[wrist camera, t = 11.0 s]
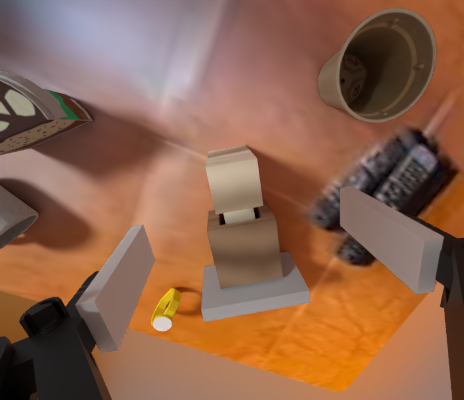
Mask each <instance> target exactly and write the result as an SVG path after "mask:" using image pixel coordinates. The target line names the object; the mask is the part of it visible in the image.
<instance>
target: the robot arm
mask: <svg viewBox="0 0 464 400" xmlns="http://www.w3.org/2000/svg"><path fill="white" fill-rule="evenodd" d="M340 226H341V227H343V228H344V229H345V230H346V231H347V232H348V233H349V234H350V235H351V236H352V237H354V238H355V239H356V240H357V241H358V242H359V243H360V244H361V245H362V246H364V247H365V248H366V249H367V250H368V251H369V252H370V253H371V254H372V255H373V256H375V257H376V258H377V259H378V260H379V261H380V262H381V263H382V264H383V265H384V266H386V267H387V268H388V269H389V270H390V271H391V272H392V273H393V274H394V275H395V276H397V277H398V278H399V279H400V280H401V281H402V282H403V283H404V284H405V285H406V286H408V287H409V288H410V289H411V290H412V291H413V292H414V293H415V294H416V295H417V294H423V293H428V292H433V291H434V288H435V282H436V280H437V281H438V282H440V283H441V284H442V285H444V290H443V295H442V299H441V304H440V307H443V308H444V312H445V323H446V333H447V345H448V356H449V367H450V379H451V389H452V400H464V238H458V239H457V238H456V237H454V236H452V235H450V234H448V233H446V232H444V231H442V230H440V229H438V228H436V227H433V225H431V224H429V223H426V222H425V221H423V220H421V219H419V218H417V217H415V216H411V215H408V214H401V213H400V212H398V211H396V210H394V209H392V208H390V207H389V206H387V205H385V204H383V203H381V202H379V201H378V200H376V199H374V198H372V197H370V196H369V195H367V194H365V193H363V192H361V191H359V190H358V189H356V188H354V187H352V186H350V187H344V188H340ZM154 261H155V258H154V255H153V252H152V249H151V246H150V243H149V240H148V237H147V234H146V232H145V229H144V226H143V225H138V226H133V227H131V228H130V230H129V231H128V232H127V234H126V235H125V236H124V238H123V239H122V241H121V242H120V243H119V245H118V246H117V248H116V249H115V250H114V252H113V253H112V254H111V256H110V257H109V259H108V260H107V261H106V263H105V264H104V266H103V267H102V268H101V270H100V271H96V272H95V273H93V274H92V275H91V276H90V277H88V278H87V279H86V281H85V282H84V283H83V285H82V286H81V288H79V290H78V291H77V294H75V295H74V296H73V298H72V299H71V300H70V302H69V303H68V304H67V305H66V307H65V305H64V304H63V302H62V300H61V299H60V298H59V297H52V298H48V299H45V300H43V301H40V302H39V303H37V304H35V305H34V306H32V307H31V308H30V309H28V310H27V311H26V312H25V313H24V314H23V315H22V316H21V318H20V324H21V325H22V327H23V328H24V330H25V331H26V333H27V334H28V336H29V337H28V338H25V339H23V340H20V341H18V342H15V343H13V344H11V342H10V341H9V339H8V338H6V337H0V400H37V399H38V400H112V399H111V396H110V394H109V392H108V389H107V387H106V385H105V382H104V380H103V378H102V375H101V373H100V371H99V368H98V366H97V364H96V362H95V359H94V357H93V355H92V354H91V352H92V350H93V348H94V347H95V344H96V345H97V347H98V349H99V350H100V352H101V353H106V352H111V351H116V350H119V348H120V345H121V342H122V340H123V337H124V335H125V333H126V330H127V328H128V325H129V323H130V320H131V318H132V315H133V313H134V311H135V308H136V306H137V303H138V301H139V298H140V296H141V293H142V291H143V288H144V286H145V283H146V281H147V278H148V276H149V273H150V271H151V268H152V266H153V263H154Z"/></svg>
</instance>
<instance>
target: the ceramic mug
mask: <svg viewBox="0 0 464 400" xmlns="http://www.w3.org/2000/svg"><path fill="white" fill-rule="evenodd" d="M38 216H39V214H38V213H37V212H36V211H35V210H33V209H32V208H30V207H29V206H28V205H26V204H25V203H24V202H22V201H21V200H20V199H18V198H17V197H15V196H14V195H13V194H11V193H10V192H8V191H7V190H6V189H4V188H3V187H2V186H0V249H2V248H3V247H5V246H6V245H7V244H9V243H10V242H12V241H13V240H14V239H16V238H17V237H18V236H20V235H21V234H22V233H23V232H25V231H26V230H27V229H28V228H29V227H30V226H31V225H32V224H33V223H34V222H35V221H36V220H37V218H38Z"/></svg>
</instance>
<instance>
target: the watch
mask: <svg viewBox="0 0 464 400" xmlns="http://www.w3.org/2000/svg"><path fill="white" fill-rule="evenodd" d="M180 299H181V293H180V291H178V290H176V289H175V288H170V290H169V291H168V292H167V293H166V294H165V296H164V297H163V298H162V299H161V300H160V302H159V303H158V305H157V307H156V309H155V311H154V313H153V316H152V319H151V324H152V326H153V327H154V328H155V329H156V330H159V331H166V330H168V329H170V328H171V326H172V321H173V320H172V317H173V315H174V314H175V312H176V310H177V308H178V305H179V303H180ZM170 300H171V301H170ZM169 302H170V303H169ZM168 303H169V305H168V308H167V309H166V311H165V312H164V313H163V311H164V309H165V308H166V306H167V304H168Z"/></svg>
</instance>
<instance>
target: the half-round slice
mask: <svg viewBox="0 0 464 400" xmlns="http://www.w3.org/2000/svg"><path fill="white" fill-rule="evenodd" d="M92 121H94V118H93V117H92V115H91V114H90V112H89V111H88V110H87V109H86V108H85V107H84V106H83V105H81V104H80V103H79V102H78V101H76V100H74V99H73V98H71V97H69V96H67V95H65V94H61V93H57V92H53V91H50V90H46V89H42V88H40V87H39V86H37V85H36V84H34V83H33V82H31V81H29V80H27V79H25V78H23V77H21V76H19V75H16V74H13V73H10V72H7V71H2V70H0V155H3V154H7V153H12V152H16V151H21V150H25V149H30V148H33V147H35V146H37V145H39V144H42V143H44V142H46V141H49V140H51V139H53V138H55V137H58V136H60V135H62V134H64V133H67V132H69V131H71V130H73V129H76V128H78V127H80V126H83V125H85V124H87V123H89V122H92Z"/></svg>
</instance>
